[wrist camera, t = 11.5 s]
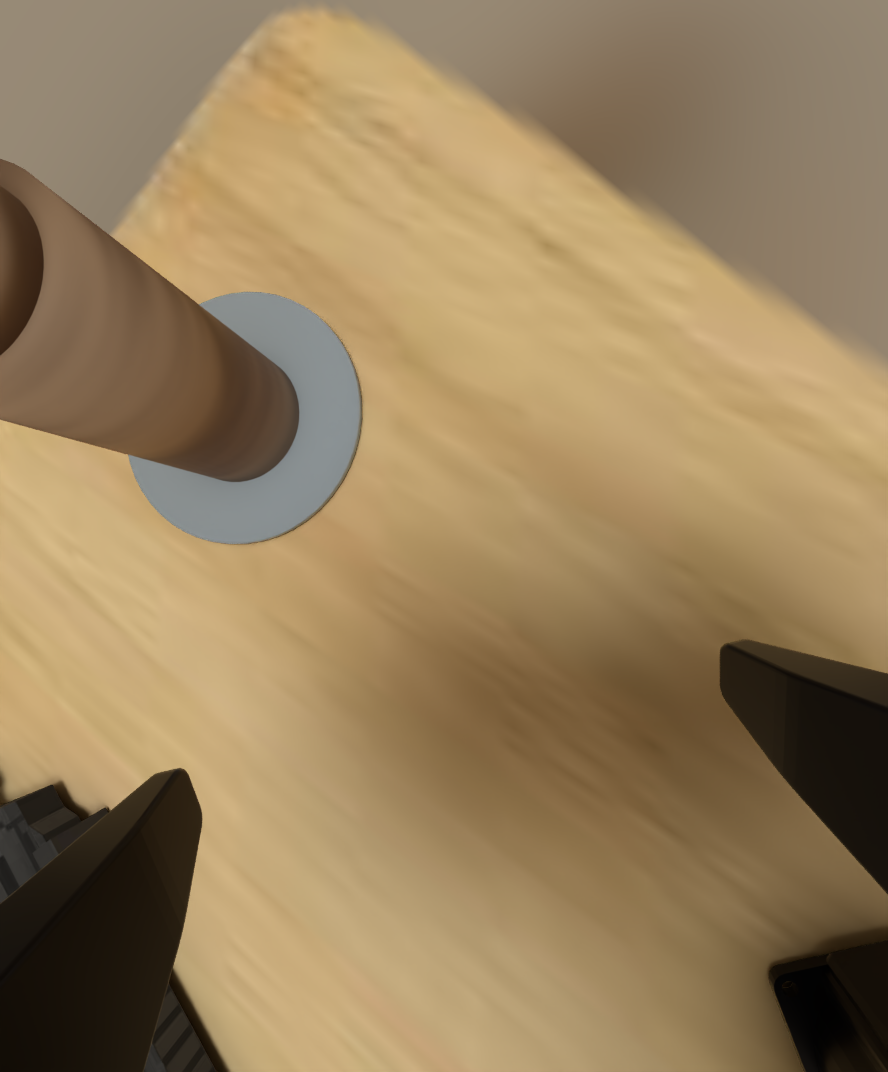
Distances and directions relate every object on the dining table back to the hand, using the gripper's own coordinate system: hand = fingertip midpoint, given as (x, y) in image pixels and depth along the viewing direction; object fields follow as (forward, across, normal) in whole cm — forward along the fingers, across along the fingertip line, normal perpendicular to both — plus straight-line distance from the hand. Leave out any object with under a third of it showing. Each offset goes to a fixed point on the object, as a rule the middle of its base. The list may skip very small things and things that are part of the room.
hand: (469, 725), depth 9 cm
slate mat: (+17, +6, -5) cm, 19 cm away
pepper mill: (+17, +6, -5) cm, 19 cm away
